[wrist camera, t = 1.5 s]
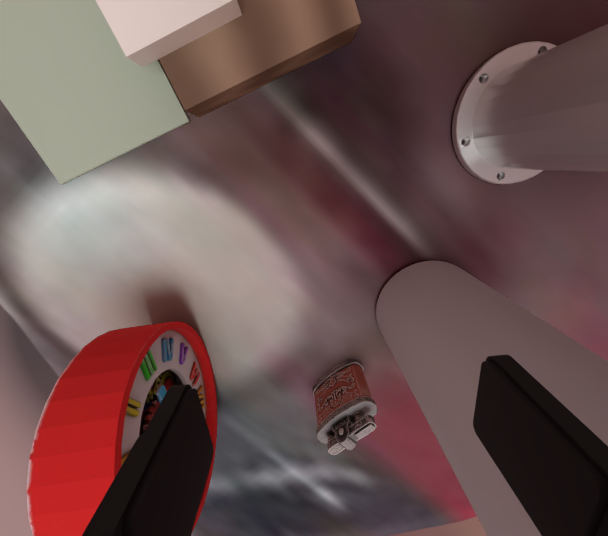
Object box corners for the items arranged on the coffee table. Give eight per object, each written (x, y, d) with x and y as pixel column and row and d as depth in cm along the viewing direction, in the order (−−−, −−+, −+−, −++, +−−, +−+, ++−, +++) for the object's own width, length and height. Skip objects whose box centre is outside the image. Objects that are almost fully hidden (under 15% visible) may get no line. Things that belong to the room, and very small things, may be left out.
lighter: (323, 400, 41) (332, 470, 32) (307, 386, 40) (312, 454, 31) (367, 368, 40) (390, 432, 30) (352, 353, 39) (371, 414, 29)
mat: (93, -68, 24) (90, -71, 23) (190, 121, 29) (188, 120, 28) (-53, 19, 25) (-58, 17, 25) (63, 184, 30) (60, 184, 30)
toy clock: (227, 414, 42) (174, 622, 23) (187, 420, 42) (101, 632, 23) (188, 289, 35) (66, 439, 16) (140, 296, 35) (-37, 454, 16)
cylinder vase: (410, 362, 40) (581, 652, 16) (354, 303, 36) (468, 563, 13) (490, 307, 37) (828, 555, 14) (437, 237, 34) (771, 410, 10)
